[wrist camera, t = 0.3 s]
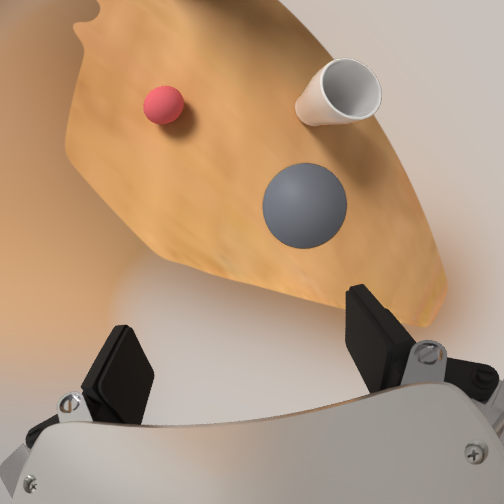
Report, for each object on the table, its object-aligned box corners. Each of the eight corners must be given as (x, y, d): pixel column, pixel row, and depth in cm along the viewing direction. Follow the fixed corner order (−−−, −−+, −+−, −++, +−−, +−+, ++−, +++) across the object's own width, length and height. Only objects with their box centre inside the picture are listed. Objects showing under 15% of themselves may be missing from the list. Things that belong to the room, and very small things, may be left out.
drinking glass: (340, 103, 35) (391, 82, 20) (322, 139, 36) (368, 134, 22) (300, 80, 33) (335, 44, 19) (281, 117, 35) (307, 96, 21)
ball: (147, 98, 33) (134, 90, 28) (182, 86, 33) (174, 76, 27) (154, 131, 35) (142, 128, 30) (190, 119, 35) (183, 114, 29)
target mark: (253, 173, 38) (253, 173, 38) (338, 156, 37) (339, 156, 37) (272, 256, 42) (272, 256, 42) (350, 237, 42) (351, 237, 42)
